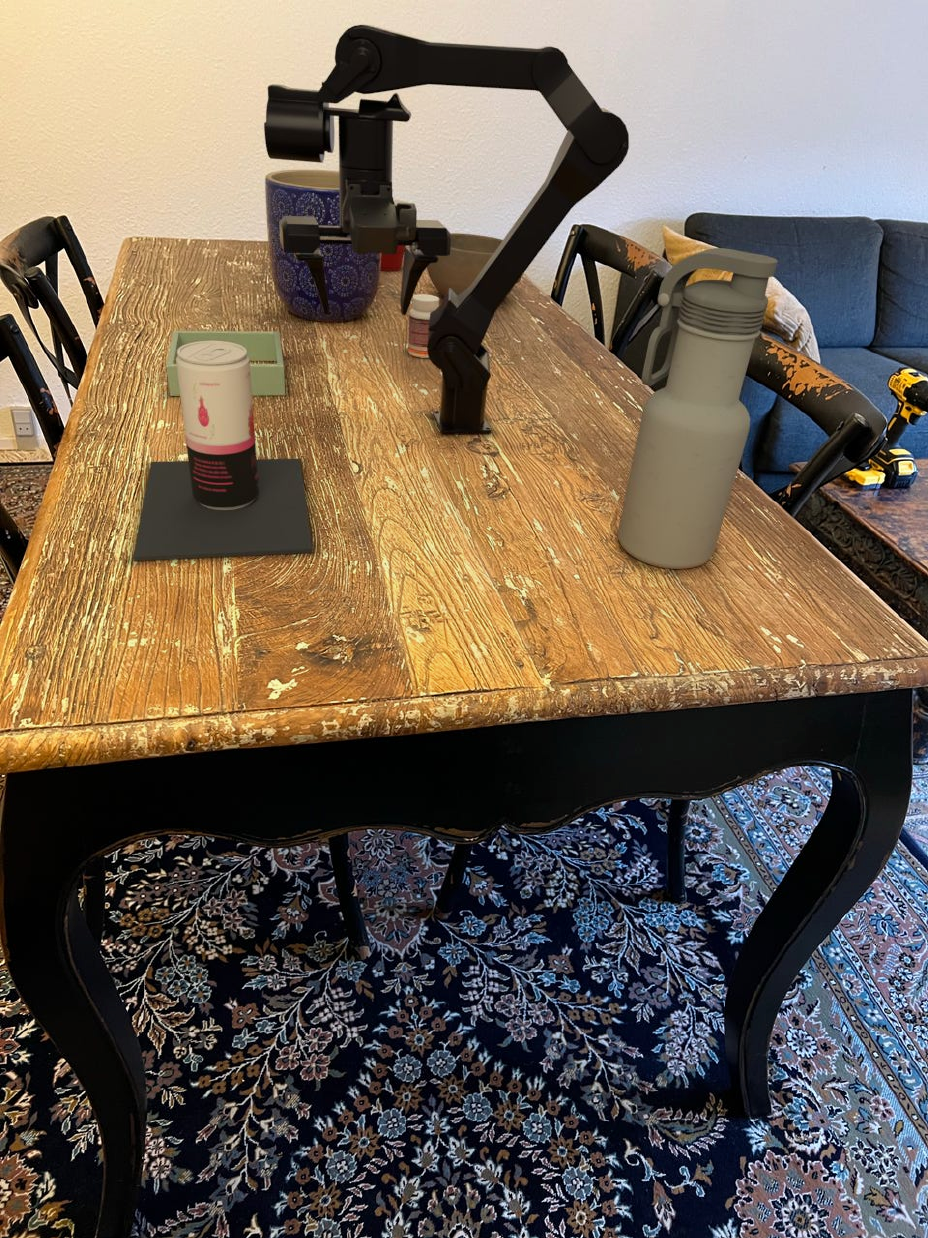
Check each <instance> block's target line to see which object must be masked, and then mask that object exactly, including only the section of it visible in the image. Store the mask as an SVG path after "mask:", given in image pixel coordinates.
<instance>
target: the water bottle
mask: <svg viewBox="0 0 928 1238" xmlns="http://www.w3.org/2000/svg"><path fill="white" fill-rule="evenodd" d="M778 262H779V261H778V259H776V258H775V257H771V256H768V255H764V254H758V253H752V252H747V251H743V250H737V249H731V248H724V247H713V248H708V249H704V250H702V251H699V252H697V253H693V254H692V255H689V256H687V257H685V258H683V259H681V260H680V261H678V262H677V263H675V264H674V265H673V266H672V267H671V268H670V269H669V270H668V272H666V275H665V276H664V278H663V280H662V281H661V283H660V287H659V291H658V295H657V303H658V305H659V306H660V307H662V311H661V312H662V313H661V318H660V322H659V326H657V327H655V328H654V329H653V331H652V333H651V335H650V337H649V340H648V343H647V350H646V353H645V358H644V364H643V368H642V374H641V383H642V385H644V386H648V387H652V386H653V385H655V384H657V383H658V382H659V381H661V380H662V379H663V380H664V378H666V377H667V380H666V385H665V387H662V388H660V389H658V390H656V391H654V392H653V393H652V394H651V395H650V396H648V398H647V399H646V401H645V403H644V406H643V409H642V412H641V418H640V422H639V426H638V431H637V437H636V441H635V446H634V451H633V455H632V461H631V465H630V471H629V474H628V480H627V484H626V490H625V493H624V500H623V504H622V508H621V509H622V510H621V513H620V518H619V524H618V529H617V539H618V541H619V543H620V545H621V547H622V548H623V550H624V551H625V552H626V553H628V554H629V555H630V556H632V557H633V558H635V559H637V560H638V561H641V562H643V563H645V564H648V565H651V566H654V567H658V568H661V569H662V568H663V569H669V570H670V569H671V570H685V569H692V568H696V567H700V566H702V565H704V564H705V563H706V562H708V561H709V560H710V559H711V558H712V556H713V555H714V553H715V551H716V548H717V547H716V546H717V544H718V540H719V537H720V535H721V530H722V526H723V523H724V520H725V517H726V513H727V509H728V505H729V503H730V498H731V495H732V492H733V488H734V485H735V481H736V477H737V474H738V470H739V467H740V464H741V460H742V456H743V453H744V449H745V446H746V442H747V439H748V436H749V432H750V427H751V416H750V413H749V411H748V409H747V408H746V406H745V404H743V402H742V401H740V396H741V392H742V388H743V384H744V381H745V377H746V374H747V369H748V366H749V362H750V359H751V355H752V351H753V348H754V345H755V342H756V338H757V339H758V337H759V336H760V334H761V329H762V327H763V322H764V318H765V316H766V312H767V308H768V306H769V299H768V296H766V293H767V288H768V283H769V278H773V277H774V276H775V274H776V270H777V266H778ZM705 269H706V270H716V271H723V272H727V273H732V276H731V279H730V280H725V279H701V280H698V281H694V282H692V283H690V284H688V282H689V280H690V278H691V276H692V275H694V273H696V272H697V271H698V270H705ZM678 316H679V317H678ZM670 331H671V335H670V339H669V340H670V341H669V344H668V349H667V353H666V358H665V361H664V363H663V365H662V367H661V369H659V370H658V371H656V372H655V373H653V367H654V363H655V359H656V353H657V348H658V345H659V343H660V340H661V339H662V337H663V336H664V335H665V334H667V333H668V332H670Z"/></svg>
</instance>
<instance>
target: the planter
mask: <svg viewBox="0 0 928 1238" xmlns="http://www.w3.org/2000/svg"><path fill="white" fill-rule="evenodd" d="M264 193H265V194H264V196H265V216H266V230H267V243H268V244H267V245H268V254H269V264H270V270H271V277H272V282H273V286H274V290H275V291H276V294H277V296H278V298H279V299H280V301H281V302H282V304H283V306H284V307H285V308H286V309H287V311H289V312H290V313H291V314H293V315H294V316H297V317H298V318H301V319H304V320H308V321H312V322H319V323H320V322H321V323H340V322H348V321H353V320H355V319H358V318H360V317H361V316H363V315H364V314H365V313H366V312H367V311H368V310H369V308H370V307H371V306H372V304H373V302H374V301H375V298H376V296H377V294H378V290H379V286H380V277H381V270H380V268H381V253H368V254H358V253H356V252H355V251H354V250H353V248H352V244H320V248H319V250H320V252H321V254H322V256H323V264H324V274H325V281H326V289H327V296H328V315H325V313H324V310H323V307H322V304H321V301H320V298H319V295H318V292H317V289H316V286H315V283H314V280H313V277H312V274H311V272H310V270H309V268H308V266H307V264H306V262H305V261H299V260H296V258H295V256H294V253H288V252H284V251H283V248H282V245H281V242H280V227H279V224H280V220H281V219H282V218H283V217H284V216H307V217H315V219H316V221H317V223H318V224H319V225H320V226H340V194H339V170H338V171H337V170H327V169H326V170H324V169H285V170H277V171H272V172H269V173H267V174H266V175H265V176H264ZM349 235H350V233H348V236H349Z"/></svg>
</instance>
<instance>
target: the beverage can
mask: <svg viewBox="0 0 928 1238" xmlns="http://www.w3.org/2000/svg"><path fill="white" fill-rule="evenodd" d="M177 355H178V356H177V358H176V364H177V372H178V380H179V388H180V396H179V397H180V403H181V412H182V420H183V427H184V435H185V444H186V452H187V461H189V469H190V477H191V485H192V493H193V497H194V499H195V500H196V501H197V502H199V503H200V504H201V505H203V506H205V507H207V508H211V509H216V510H233V509H238V508H242V507H244V506H247V505H249V504H250V503H251V502H253V501H254V500H255V499H256V498H257V496H258V494H259V486H258V472H257V447H256V434H255V419H254V406H253V396H252V390H251V377H250V364H251V362H250V361H249V357H248V356H247V351H246V349H245V348H244V347H243V346H241V345H238V344H235V343H231V342H225V341H199V342H193V343H189V344H186V345H183V346H181V347H180V348H179V349H178V350H177Z"/></svg>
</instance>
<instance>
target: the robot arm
mask: <svg viewBox="0 0 928 1238" xmlns="http://www.w3.org/2000/svg"><path fill="white" fill-rule="evenodd" d="M334 62H335V64H334V67H333V68H332V70H331V71H330V73H329V74H328V76H327V78H326V79H325V80H324V81H321V87H320V88H319V89H309V88H308V89H306V88H295V87H289V86H287V85H284V84H275V83H274V84H273V83H271V84H269V85H268V86H267V102H266V107H265V108H266V109H265V121H264V123H263V127H264V128H263V133H264V141H265V142H264V143H265V147H266V153H267V157H268V158H269V159H271V160H283V161H294V162H295V161H296V162H309V163H319V164H320V163H321V164H322V163H324V160H325V154H326V153H328V154H329V153H331V154H333V153H334V151H335V149H334V148H335V117H338V171H339V194H340V226H320V225H319V224H318V223H317V221H316V219H315V217H307V216H284V217H283V218H282V219H281V220H280V224H279V227H280V242H281V245H282V248H283V251H284V252H288V253H294V256H295V258H296V260H299V261H305V262H306V264H307V266H308V268H309V270H310V272H311V274H312V277H313V280H314V283H315V286H316V289H317V292H318V295H319V298H320V301H321V304H322V307H323V310H324V313H325V315H328V296H327V289H326V281H325V274H324V264H323V256H322V254H321V252H320V250H319V248H320V244H352V248H353V250H354V251H355V252H356V253H358V254H368V253H384V254H386V255H392V254H395V253H396V252H397V248H398V245H401V246H406V247H405V251H404V257H403V262H402V277H401V288H400V289H401V290H400V313H401V315H402V316H406V315H407V312H408V310H409V307H410V305H411V303H412V297H413V296H414V295H415V291H416V289H417V286H418V283H419V282H420V280H421V277H422V275H423V274H424V272H425V271H426V270H427V267H428V265H429V264H431V263H437V262H438V259H439V258H438V257H437V256H448V255H450V250H451V235H450V233H451V232H450V231H449V230H448V228H447V227H445V225H444V224H442V223H441V221H439V220H438V219H418V218H417V217H418V216H417V215H418V214H417V211H418V210H417V207H416V204H415V203H413V202H408V203H398V204H397V205H395V204H394V200H395V199H394V196H393V150H394V149H393V147H394V146H393V143H394V141H393V140H394V133H393V132H394V122H403V123H408V122H409V121H410V119H411V118H412V112H411V111H410V110H409V109H408V108H407V107H406V106H405V104H404V103H403V102H402V100H401V98H400V95H399V93H397V92H395V93H393V94H392V96H391V97H390V98H389V100H379V99H366V98H360V99H359V104H358V108H343V107H342V108H341V107H330V104H339V103H340V102H342V101H344V100H345V99H347V98H349V97H350V96H352V95H353V94H354V93H358V94H361V95H371V94H377V93H384V92H385V93H386V92H393V91H397V90H402V89H408V88H414V87H420V86H428V85H432V86H450V87H451V86H452V87H454V86H455V87H465V88H466V87H469V88H487V89H500V90H501V89H502V90H519V91H520V90H521V91H535V92H539V93H540V94H541V96H542V97H543V99H544V100H545V102H546V103H547V104H548V106H549V107H550V108H551V110H552V111H553V113H554V114H555V116H556V117H557V119H558V121H560V123H561V124H562V126H563V127H564V129H565V130H566V131H567V132H566V134H565V135H564V138H563V140H562V141H561V144H560V146H559V147H558V150H557V152H556V154H555V157H554V160H553V162H552V164H551V167H550V169H549V170H548V171H549V172H548V174H547V176H546V178H545V180H544V182H543V184H542V185H541V186H540V188H539V189H538V190H537V192H536V193H535V195H534V196H533V198H531V200H530V202H529V203H528V204H527V206H526V207H525V209H524V210H523V212H522V213H521V214H520V215H519V217H518V219H517V220H516V221H515V222H514V224H513V225H512V227H511V228H510V230H509V231H508V232H507V233H506V235H505V236H504V238H503V239H502V240H503V241H502V242H501V244H500V245H499V246H498V248H497V249H496V251H495V252H494V253H493V255H492V256H491V258H490V259H489V260H488V262H487V263H486V265H485V266H484V267H483V269H482V270H481V272H480V273H479V274H478V276H477V277H476V279H475V280H474V281H473V283H472V284H471V285H470V286H469V287H468V288H467V289H465V290H464V291H463V292H461V293H460V294H459V295H458V296H457V295H456V294H455V292H454V291H453V290H452V289H451V288H449V289H448V291H447V293H446V295H445V296H443V299H442V300H441V302H440V303H439V307H438V308H437V309H436V310H434V311H433V312H431V313H430V321H429V335H428V343H427V351H428V356H429V358H428V359H429V360H430V362H431V363H432V364H433V366H434V367H436V369H438V370H440V371H441V376H442V377H441V378H442V379H441V391H440V393H441V394H440V409H439V410H433V411H432V416H433V419H434V420H435V423H436V425H437V427H438V429H439V431H440V433H441V434H444V435H459V434H460V435H462V434H463V435H464V434H469V435H470V434H492V431H493V428H492V427H491V425H490V423H489V421H488V420H487V418H486V407H487V396H488V383H489V381H490V379H491V377H492V374H491V373H492V372H491V359H490V352H489V351H488V349H487V348H486V347H485V346H484V345H483V342H484V339H485V337H486V334H487V332H488V330H489V328H490V324H491V323H492V320H493V318H494V316H495V313H496V311H497V309H498V308H499V307H500V305H501V304H502V303H503V302H504V300H505V299H506V297H507V296H508V295H509V294H510V293H511V292H512V291H511V289H512V288H513V289H514V287H515V286H516V285H517V284H518V283H517V281H518V280H519V278H520V277H521V276H522V277H523V275H524V273H525V272H526V271H527V269H528V268H529V266H530V265H531V264H532V263H533V261H535V258H537V256H538V255H539V253H540V252H541V251H542V250H543V248H544V246H545V245H546V243H547V242H548V241H549V240H550V238H551V237H552V236H553V234H554V233H555V231H556V230H557V229H558V228H559V226H560V225H561V223H562V222H563V221H564V220H565V218H566V216H568V214H569V213H570V211H571V210H572V209H573V208H574V207H575V206H576V205H577V204H578V203H579V202H580V201H582V200H583V199H584V198H586V197H587V196H588V195H590V194H591V193H592V192H593V191H595V190H596V189H597V188H598V187H599V186H600V185H601V184H602V183H604V182H605V181H606V180H607V179H608V178H609V177H610V176H611V175H612V174H613V173H614V172H615V170H617V169H618V168H619V167H620V166H621V165H622V164H623V162H624V161H625V159H626V156H627V155H628V152H629V148H630V146H629V145H630V138H629V137H630V135H629V131H628V128H627V125H626V124H625V122H624V121H623V119H622V118H621V117H619V116H618V115H616V114H615V113H613V112H612V111H610V110H608V109H606V108H604V107H601V106H600V105H599V104H598V103H597V101H596V99H595V98H594V96H592V94H591V93H590V91H589V90H588V89H587V87H586V86H585V85H584V83H583V82H582V81H581V79H580V78H579V77H578V75H577V74H576V73H575V71H574V70H573V68H572V66H571V65H570V64H569V61H568V58H567V57H566V55H565V53H564V52H563V51H562V50H561V49H559V47H554V46H550V45H543V46H540V47H524V46H523V47H522V46H509V45H508V46H505V45H489V44H473V43H456V42H440V41H429V40H427V39H421V38H419V37H415V36H412V35H408V34H406V33H405V34H404V33H401V32H397V31H394V30H390V29H387V28H383V27H379V26H375V25H371V24H357V25H353V26H351V27H348V28H347V29H346V30H345V31H344V32H343V33H342V34H341V36H340V37H339V38H338V41H337V44H336V46H335V52H334ZM348 233H350V235H349V236H348ZM522 277H521V278H522ZM516 283H517V284H516ZM514 285H515V286H514ZM513 289H512V290H513ZM510 291H511V292H510ZM509 292H510V293H509ZM508 293H509V294H508Z"/></svg>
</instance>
